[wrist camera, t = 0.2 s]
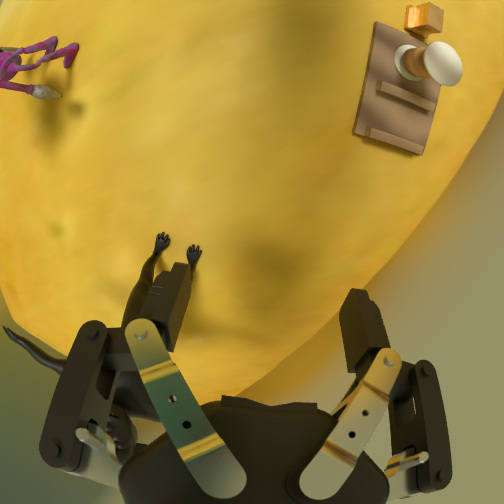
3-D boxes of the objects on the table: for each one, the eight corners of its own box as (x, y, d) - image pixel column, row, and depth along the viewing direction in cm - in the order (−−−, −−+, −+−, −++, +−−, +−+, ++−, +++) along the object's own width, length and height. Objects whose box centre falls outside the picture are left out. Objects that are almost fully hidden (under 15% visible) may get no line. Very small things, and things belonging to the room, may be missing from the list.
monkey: (284, 270, 50) (283, 508, 18) (243, 329, 62) (224, 501, 30) (89, 195, 43) (-50, 373, 11) (87, 269, 54) (7, 418, 22)
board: (374, 22, 23) (405, 9, 15) (442, 54, 24) (483, 57, 15) (352, 131, 34) (377, 150, 26) (418, 153, 34) (453, 178, 26)
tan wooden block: (406, 5, 20) (425, -2, 15) (426, 16, 20) (447, 11, 15) (404, 27, 23) (423, 23, 18) (424, 37, 23) (445, 35, 18)
